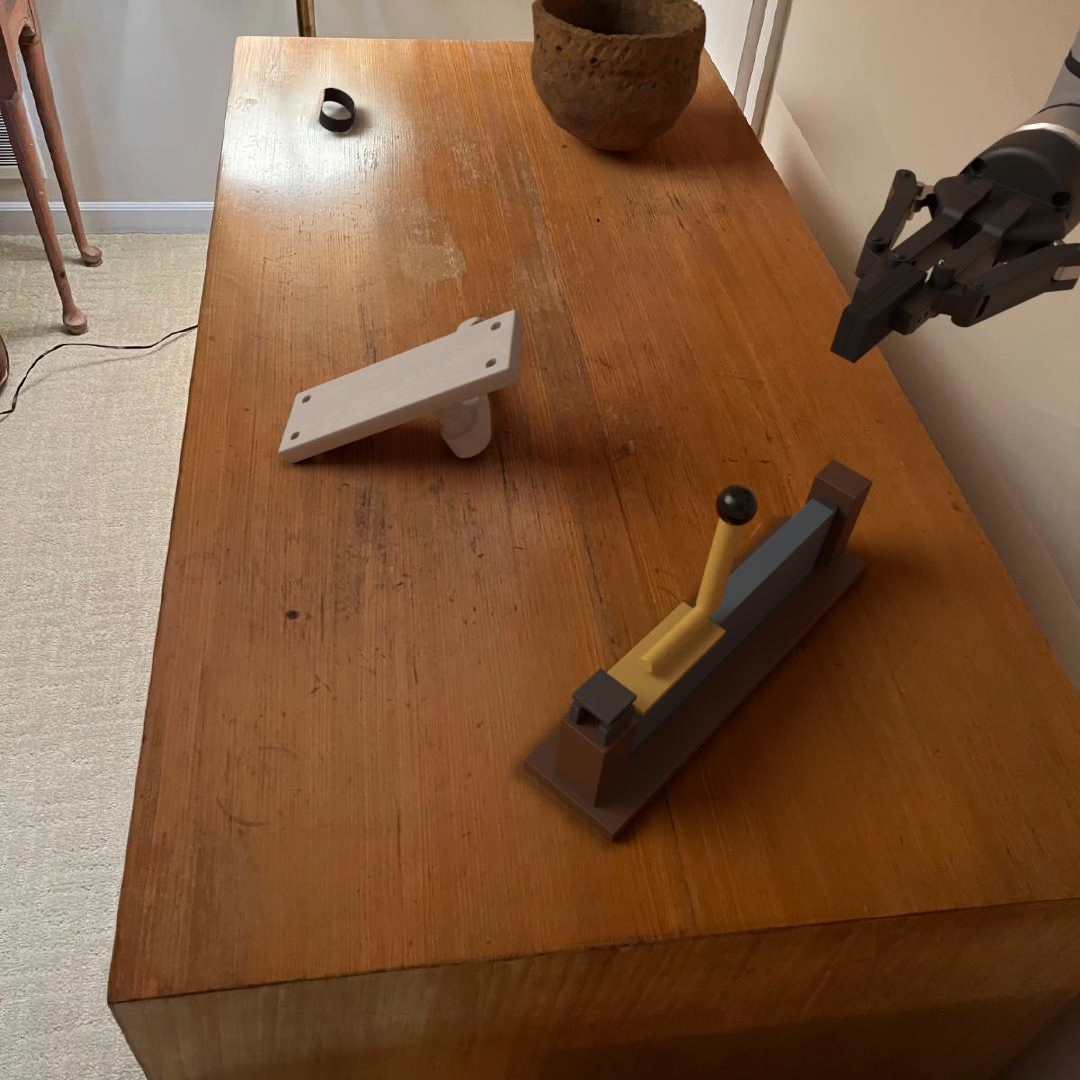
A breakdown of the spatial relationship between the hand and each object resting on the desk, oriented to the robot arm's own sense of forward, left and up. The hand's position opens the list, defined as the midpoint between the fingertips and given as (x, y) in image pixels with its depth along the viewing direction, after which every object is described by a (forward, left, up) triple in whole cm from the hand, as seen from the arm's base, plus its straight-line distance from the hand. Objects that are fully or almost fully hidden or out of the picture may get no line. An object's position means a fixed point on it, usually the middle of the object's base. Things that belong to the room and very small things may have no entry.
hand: (849, 336), depth 53 cm
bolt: (-7, +7, -16) cm, 19 cm away
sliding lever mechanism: (-4, +4, -24) cm, 24 cm away
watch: (+72, +35, -24) cm, 84 cm away
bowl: (+70, +4, -24) cm, 75 cm away
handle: (+22, +25, -24) cm, 41 cm away
